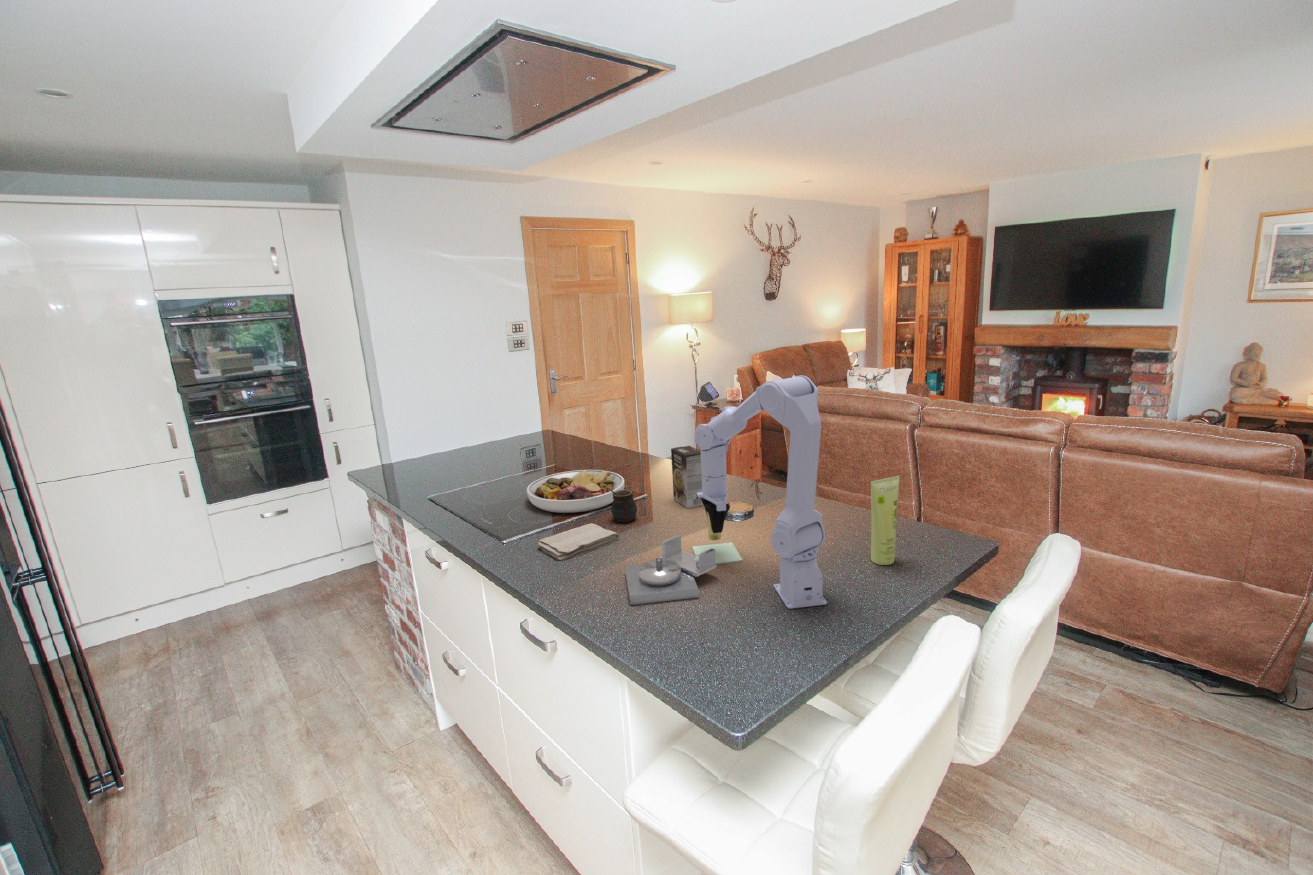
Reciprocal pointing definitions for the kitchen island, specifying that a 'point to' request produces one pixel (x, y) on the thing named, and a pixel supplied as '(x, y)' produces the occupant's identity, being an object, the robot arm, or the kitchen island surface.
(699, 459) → the coffee box
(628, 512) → the mate gourd
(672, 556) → the grey disc and bracket
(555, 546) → the washcloth
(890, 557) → the tube
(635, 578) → the base
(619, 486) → the bowl
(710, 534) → the olive glass cylinder
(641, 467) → the kitchen island surface
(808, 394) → the robot arm
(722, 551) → the pad
